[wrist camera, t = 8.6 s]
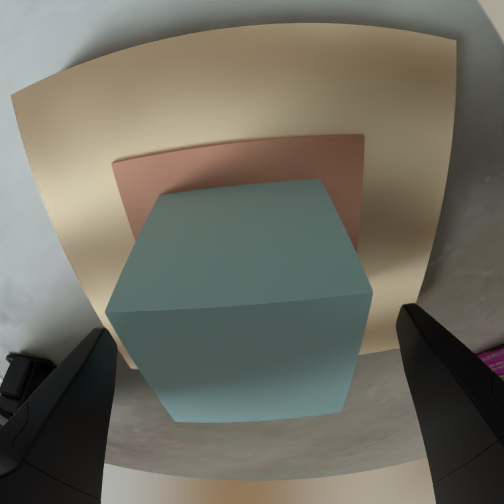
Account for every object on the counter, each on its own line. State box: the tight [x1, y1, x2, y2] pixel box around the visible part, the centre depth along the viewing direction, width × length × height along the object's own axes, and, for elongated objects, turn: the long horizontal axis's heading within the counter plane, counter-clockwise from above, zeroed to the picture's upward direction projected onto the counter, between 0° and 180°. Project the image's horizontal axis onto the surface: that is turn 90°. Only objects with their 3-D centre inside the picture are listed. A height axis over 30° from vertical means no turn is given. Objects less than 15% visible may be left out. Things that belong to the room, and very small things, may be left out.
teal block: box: [105, 179, 373, 422], centre depth 10 cm, size 6×6×6 cm
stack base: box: [11, 23, 457, 369], centre depth 13 cm, size 16×16×3 cm
